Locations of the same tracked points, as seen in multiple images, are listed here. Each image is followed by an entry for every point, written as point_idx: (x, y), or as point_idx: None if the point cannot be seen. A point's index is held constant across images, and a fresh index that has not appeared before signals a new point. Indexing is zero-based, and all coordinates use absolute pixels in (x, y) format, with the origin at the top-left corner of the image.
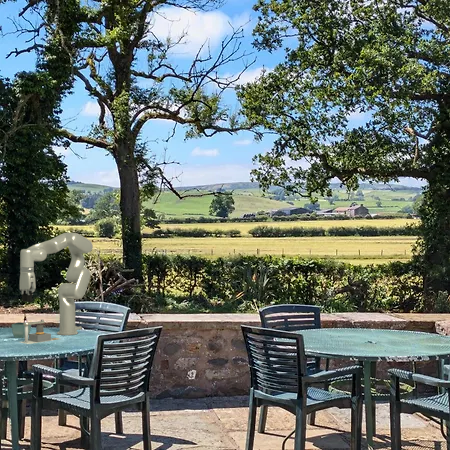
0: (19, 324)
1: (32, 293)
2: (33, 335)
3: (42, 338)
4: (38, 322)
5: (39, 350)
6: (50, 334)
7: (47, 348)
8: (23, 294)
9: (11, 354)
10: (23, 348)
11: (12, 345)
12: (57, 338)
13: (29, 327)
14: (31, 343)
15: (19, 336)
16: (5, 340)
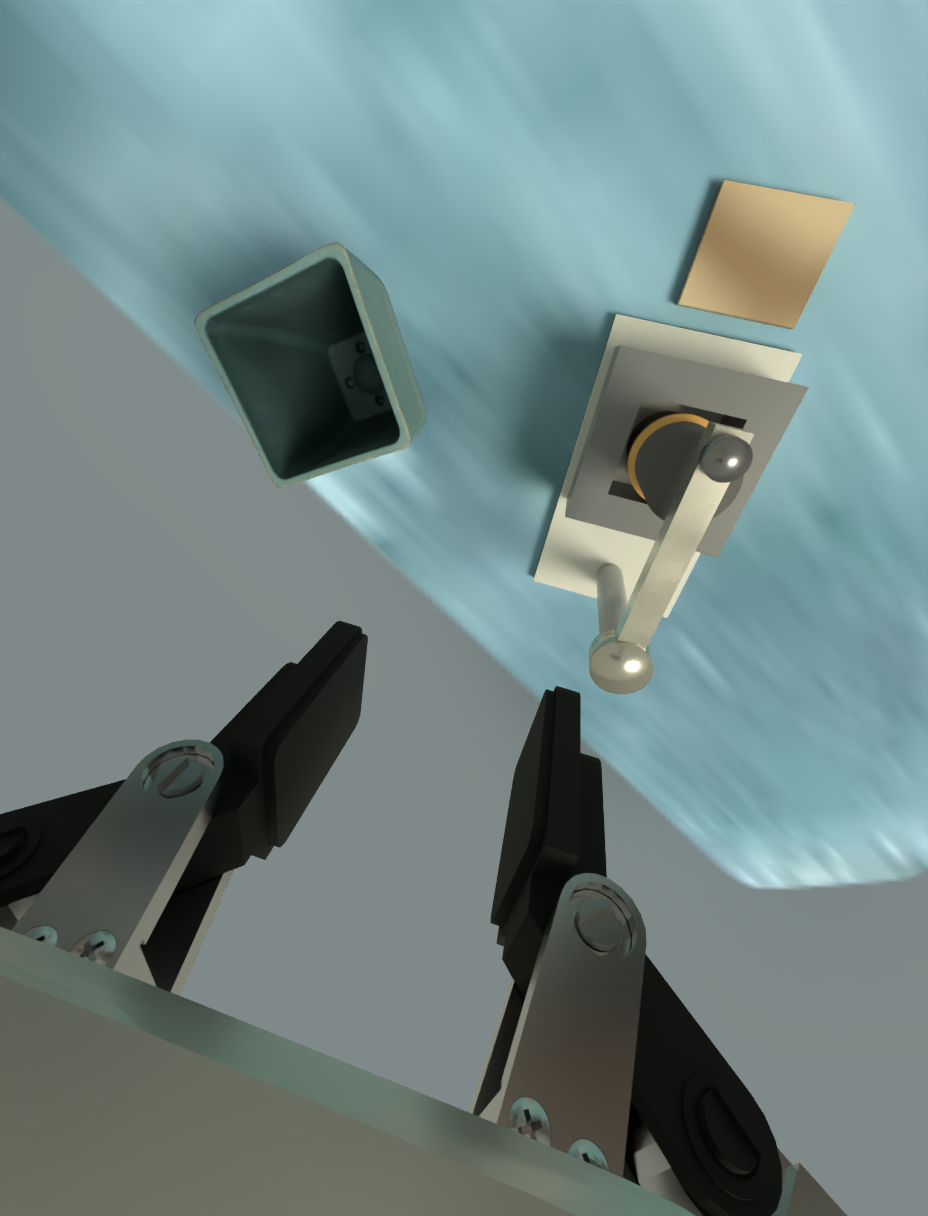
0: (226, 321)
1: (674, 1002)
2: (642, 534)
3: None
4: (702, 529)
5: (891, 753)
6: (800, 395)
7: (923, 680)
8: (251, 837)
9: (765, 866)
10: (718, 723)
11: (564, 661)
12: (781, 202)
13: (378, 306)
14: (678, 593)
15: (387, 425)
16: (356, 520)
